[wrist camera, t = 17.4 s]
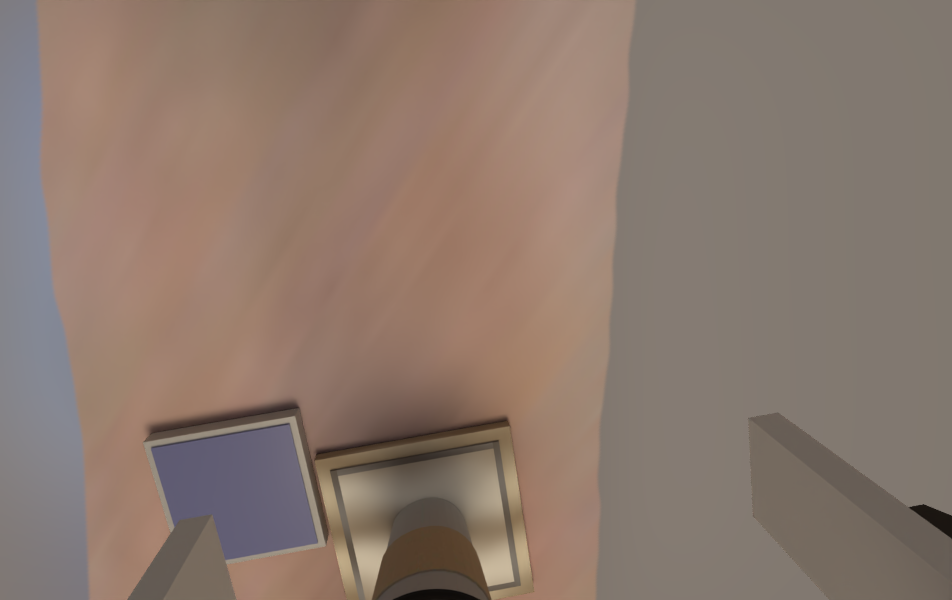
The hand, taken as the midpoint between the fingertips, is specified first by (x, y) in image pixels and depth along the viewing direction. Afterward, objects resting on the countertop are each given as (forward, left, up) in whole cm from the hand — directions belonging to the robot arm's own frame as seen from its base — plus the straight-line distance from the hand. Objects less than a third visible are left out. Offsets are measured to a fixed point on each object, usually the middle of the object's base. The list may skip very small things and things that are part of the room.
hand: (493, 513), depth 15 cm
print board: (+20, -4, -32) cm, 38 cm away
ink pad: (+14, -18, -32) cm, 39 cm away
